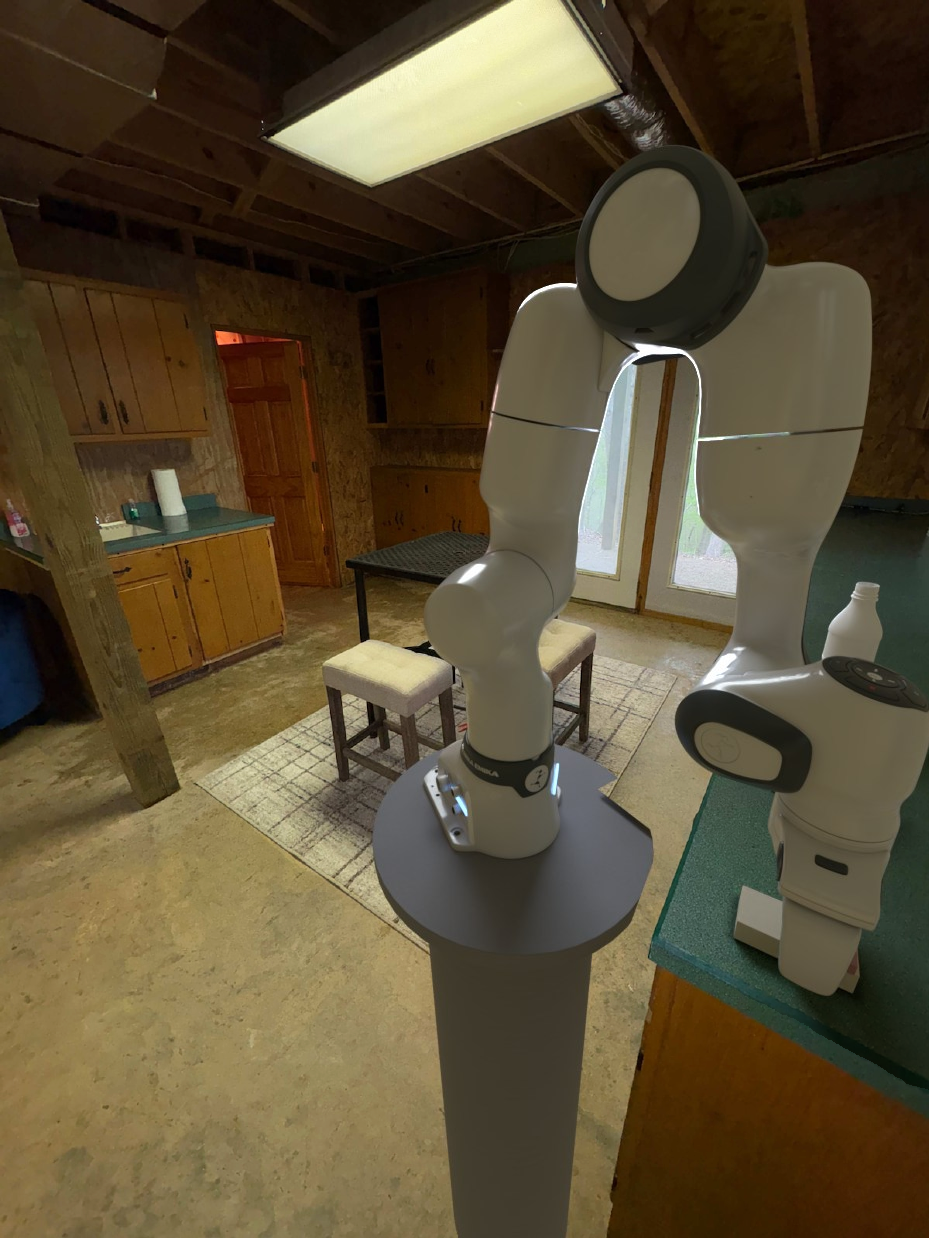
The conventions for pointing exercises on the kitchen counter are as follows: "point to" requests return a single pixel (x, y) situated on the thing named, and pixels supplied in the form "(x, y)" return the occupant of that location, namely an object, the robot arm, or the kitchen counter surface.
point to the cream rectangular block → (773, 929)
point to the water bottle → (856, 626)
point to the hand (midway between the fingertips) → (794, 932)
